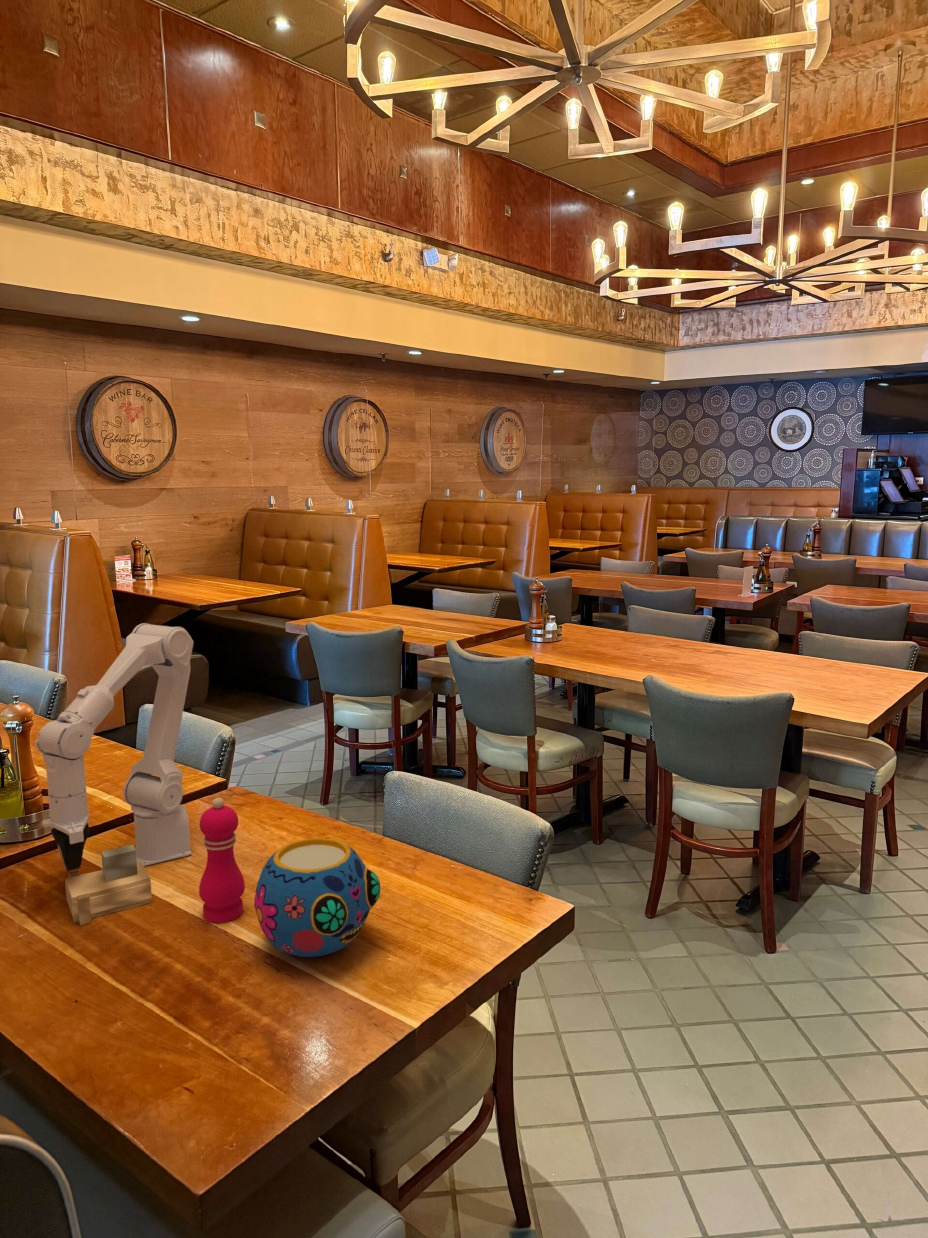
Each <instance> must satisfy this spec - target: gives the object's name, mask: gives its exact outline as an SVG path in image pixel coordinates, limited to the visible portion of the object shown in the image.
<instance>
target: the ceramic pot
mask: <svg viewBox="0 0 928 1238" xmlns="http://www.w3.org/2000/svg"><path fill="white" fill-rule="evenodd" d="M380 882H381V881H380V879H379V877H378V875H377V874H376V873H375V872H374V871H372V870H371V869H369V868H368V867H367V866H366V864H365V863H364V862H363V860H362V858H361V856H359V855H358V853H357V852H356V851H355V849H354V848H352V847H350V846H349V845H348V844H346V843H344V842H342V841H341V840H336V839H333V838H325V837H315V838H314V837H313V838H312V837H311V838H305V839H299V840H296V841H292V842H290V843H287V844H286V845H283V846H281V847H280V848H279V849H277V850H276V851H275V852H274V853H273V854H272V855H271V856H270V857H269V858H268V860H267V861H266V862H265V864H264V865H263V868H262V870H261V871H260V875H259V878H258V881H257V884H256V888H255V894H254V899H253V900H254V905H253V906H254V909H255V914H256V917H257V920H258V923H259V927H260V930H261V932H262V933H263V935H264V936H265V937H266V938H267V940H268V941H269V942H270V943H271V944H272V946H273V947H275V948H276V949H278V950H280V951H281V952H282V953H285V954H288V955H292V956H295V957H296V956H297V957H302V958H315V957H322V956H327V955H331V954H332V953H336V952H338V951H340V950H342V949H343V948H345V947H346V946H348V945H349V944H351V943H352V942H353V941H354V940H355V939H356V938H357V936H358V935H359V933H360V932H361V930H363V929H362V928H363V927H364V925H365V923H366V921H367V918H368V917H369V913H370V911H371V910H372V908H373V907H374V906H375V905H376V904H377V902H378V900H379V898H380V895H381V883H380Z"/></svg>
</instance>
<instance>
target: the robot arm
mask: <svg viewBox="0 0 928 1238" xmlns="http://www.w3.org/2000/svg"><path fill="white" fill-rule="evenodd" d="M193 647H194V640H193V639H192V636H191V635H190V634H189V632H188V631H187V630H186V628H184V627H182V626H168V625H159V624H158V625H157V624H151V623H146V622H144V623H143V622H142V623H140V624H138V625H136V626H135V627H134V628H133V630H132V632H131V633H130V634H128V635H127V636H126V638H125V646H124V648H123V649H122V651H121V652H120V653H119V655H118V656H117V657H116V658H115V660H114V661H113V663H112V664H111V665H110V666H109V668H108V669H107V670H106V672H105V673H104V674H103V676H102V677H101V679H99V681H98V683H96V684H95V685H88V686H85V687H84V688H81V689H80V690H79V691H78V692H77V693H76V695H77V696H76V697H75V698H74V700H72V702H71V703H70V704H69V705H67V707H66V708H65V709H64V711H62V712H61V713H60V714H59V715H58V717H57V718H56V720H52V721H49V722H47V723H46V724H45V725H43V726H42V728H41V729H40V730H39V732H38V735H37V739H36V740H35V741H34V744H35V745H34V746H35V748H36V749H37V750H38V752H40V753H41V755H42V757H43V758H42V759H43V763H45V764H44V765H45V770H46V783H47V794H48V795H47V797H48V806H49V807H48V808H49V817H48V818H45V819H44V818H43V820H42V822H41V823H42V826H43V828H48V827H52V828H51V830H50V832H51V835H52V838H53V840H54V841H55V842H56V844H57V846H58V845H59V847H60V849H61V853H62V856H63V860H64V863H65V866H66V868H67V870H71V869H75V868H79V869H80V868H81V865H82V862H83V857H84V856H83V854H84V849H85V845H86V842H87V839H88V837H89V835H90V832H91V828H90V826H89V824H88V823H89V820H90V817H91V816H90V812H89V809H88V797H87V795H88V794H87V785H86V784H87V783H86V781H87V780H86V770H85V756H84V754H85V753H86V752H88V751H89V749H90V748H91V743H92V738H93V735H94V734H95V730H96V729H97V727H98V726H100V724H101V723H102V721H103V720H104V719H105V718H106V717H107V715H108V714H109V713H110V712H111V711H112V709H113V708H114V707H115V700H114V697H115V696H116V695H117V694H118V692H119V691H121V690H122V689H123V688H124V686H125V685H127V683H128V682H129V681H131V679H133V678H134V676H135V675H136V674H137V673H138V672H140V670H142V668H143V667H147V666H151V667H152V668H153V670H154V671H155V672H156V673H157V675H158V680H157V685H156V690H155V695H154V701H153V705H152V711H151V715H150V719H149V720H150V721H149V726H148V730H147V731H148V732H147V735H146V741H145V746H144V747H145V748H144V751H143V757H142V758H141V759H139V760H138V761H137V762H135V763H134V764H133V765H132V766H131V769H130V774H129V777H128V778H127V780H126V781H125V783H124V786H123V790H122V791H123V794H122V796H123V798H124V801H125V803H127V804H128V805H129V806H130V810H131V812H133V822H134V833H135V834H134V835H135V837H134V838H135V847H134V848H135V849H136V858H137V861H141V863H142V865H143V867H145V866H150V865H154V864H159V863H163V862H166V861H171V860H174V859H179V858H183V857H187V856H190V855H192V850H191V838H190V837H191V836H190V821H189V815H188V811H187V808H186V806H185V804H181V802H182V800H183V796H184V795H183V794H184V789H183V776H184V773H183V772H182V771H181V769H180V767H178V766H177V764H176V763H175V755H176V751H177V750H176V749H177V745H178V739H179V734H180V728H181V724H182V718H183V713H184V707H185V702H186V697H187V692H188V686H189V680H190V676H191V675H190V674H191V668H192V667H191V658H192V654H193ZM65 866H64V867H65Z"/></svg>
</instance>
